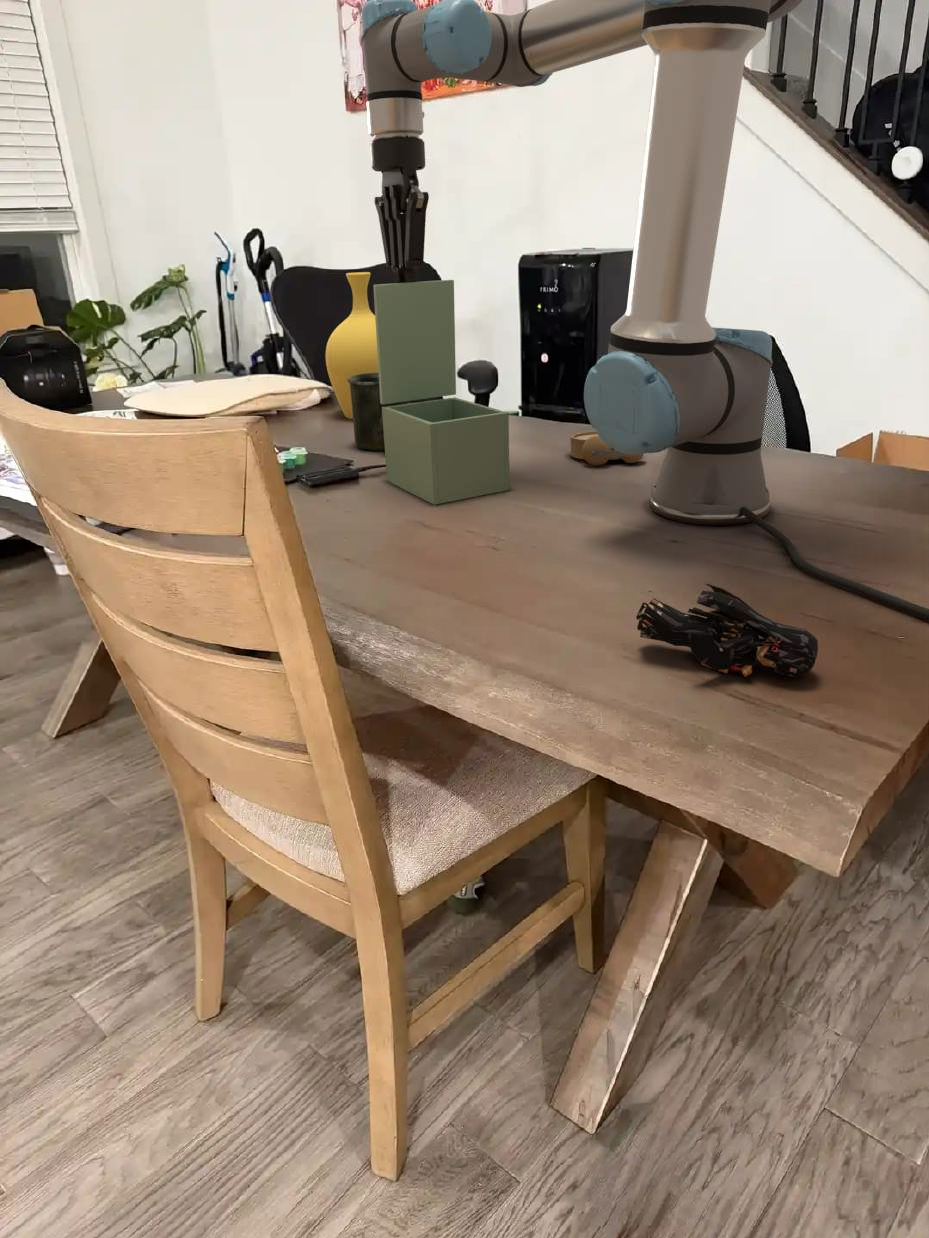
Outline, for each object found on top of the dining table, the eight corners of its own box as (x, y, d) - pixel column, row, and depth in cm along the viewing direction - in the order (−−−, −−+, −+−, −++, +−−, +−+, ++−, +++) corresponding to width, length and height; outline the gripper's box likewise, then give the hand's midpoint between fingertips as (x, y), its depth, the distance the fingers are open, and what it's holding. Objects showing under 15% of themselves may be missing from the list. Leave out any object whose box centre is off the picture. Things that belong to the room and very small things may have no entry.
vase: (373, 405, 190) (363, 270, 178) (422, 412, 179) (415, 270, 168) (315, 417, 179) (300, 275, 168) (364, 426, 169) (352, 275, 157)
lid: (454, 280, 124) (451, 279, 124) (375, 285, 118) (373, 284, 119) (456, 394, 131) (453, 393, 132) (382, 404, 126) (380, 403, 126)
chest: (509, 490, 124) (508, 412, 119) (434, 505, 118) (429, 424, 114) (457, 468, 136) (455, 397, 132) (387, 481, 131) (381, 407, 126)
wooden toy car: (626, 429, 145) (657, 431, 131) (626, 458, 146) (657, 463, 132) (562, 433, 144) (586, 436, 129) (563, 462, 145) (587, 468, 131)
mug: (408, 436, 159) (404, 370, 154) (419, 453, 146) (415, 383, 141) (350, 440, 157) (345, 374, 152) (357, 458, 144) (350, 387, 139)
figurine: (621, 643, 70) (811, 686, 65) (643, 557, 71) (832, 592, 66) (635, 661, 78) (805, 700, 73) (655, 583, 79) (824, 616, 74)
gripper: (443, 133, 112) (450, 320, 122) (400, 143, 123) (410, 315, 133) (392, 132, 109) (404, 324, 119) (353, 143, 120) (367, 318, 129)
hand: (407, 319), depth 126 cm, fingers closed
